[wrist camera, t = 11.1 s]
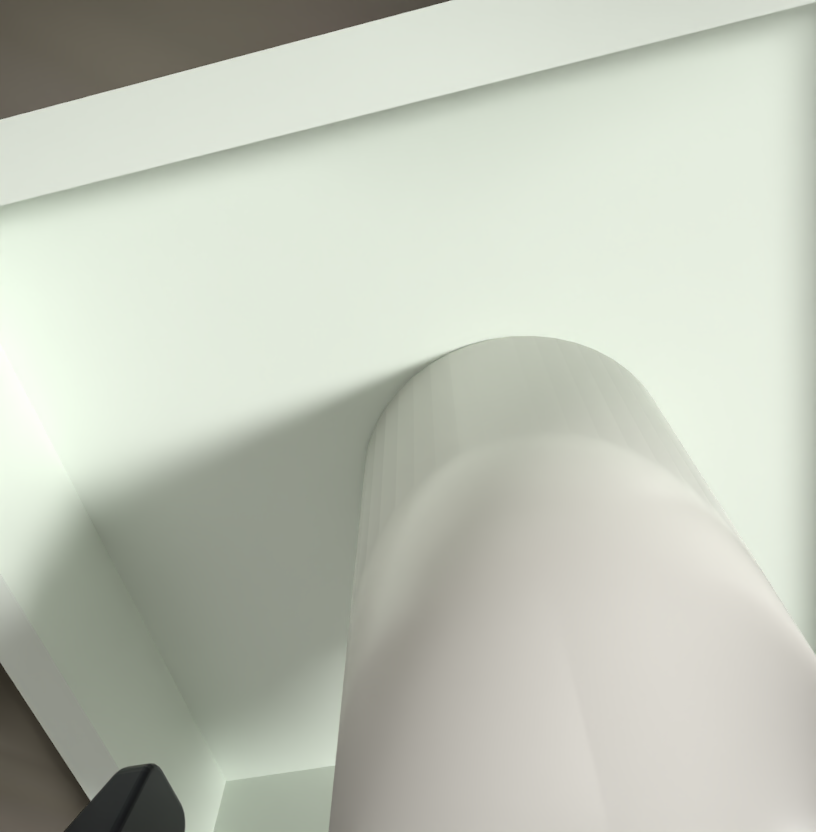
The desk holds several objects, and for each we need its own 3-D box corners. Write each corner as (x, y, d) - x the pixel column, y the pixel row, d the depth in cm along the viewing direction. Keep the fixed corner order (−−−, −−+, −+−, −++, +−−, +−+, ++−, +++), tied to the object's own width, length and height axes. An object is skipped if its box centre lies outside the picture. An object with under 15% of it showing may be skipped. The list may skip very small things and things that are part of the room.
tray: (1077, -164, 9) (1353, -239, 6) (960, 675, 15) (1073, 815, 13) (-126, 155, 11) (-302, 199, 8) (210, 785, 17) (172, 925, 15)
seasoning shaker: (658, 304, 11) (1454, 1237, 3) (679, 568, 13) (1142, 1523, 5) (328, 373, 12) (110, 1335, 3) (403, 615, 14) (391, 1552, 5)
